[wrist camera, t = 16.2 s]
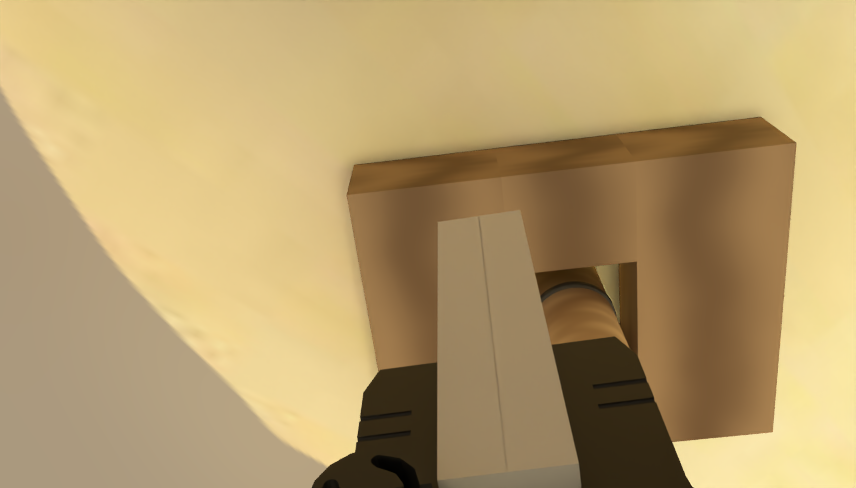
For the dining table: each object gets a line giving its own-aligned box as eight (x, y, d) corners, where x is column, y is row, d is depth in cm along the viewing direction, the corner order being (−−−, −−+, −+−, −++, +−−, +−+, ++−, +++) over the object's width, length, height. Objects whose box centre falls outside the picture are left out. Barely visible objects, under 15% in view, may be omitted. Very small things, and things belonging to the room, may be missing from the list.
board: (761, 117, 38) (796, 142, 34) (744, 386, 45) (772, 432, 41) (354, 165, 39) (346, 195, 35) (398, 422, 46) (396, 469, 42)
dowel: (597, 243, 41) (646, 348, 32) (599, 311, 43) (646, 429, 34) (518, 251, 41) (544, 358, 32) (523, 319, 43) (550, 439, 34)
